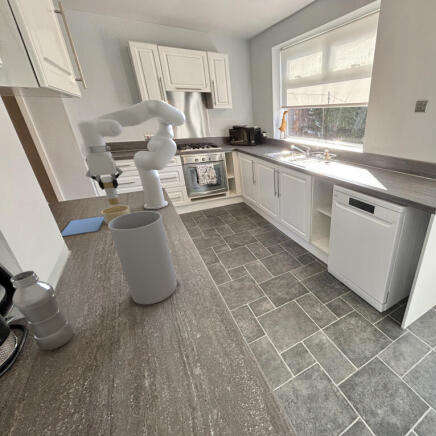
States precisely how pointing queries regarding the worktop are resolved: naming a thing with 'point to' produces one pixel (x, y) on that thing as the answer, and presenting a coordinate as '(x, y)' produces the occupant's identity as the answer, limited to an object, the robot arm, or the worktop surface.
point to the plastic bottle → (41, 310)
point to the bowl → (114, 212)
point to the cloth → (83, 226)
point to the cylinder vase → (144, 255)
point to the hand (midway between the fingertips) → (109, 187)
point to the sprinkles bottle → (110, 190)
